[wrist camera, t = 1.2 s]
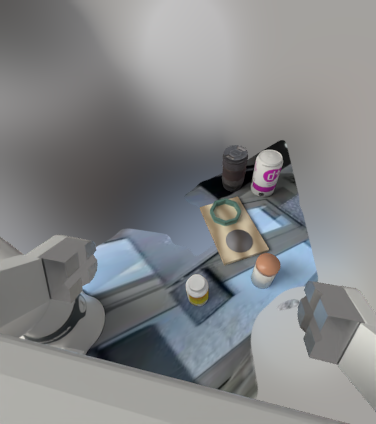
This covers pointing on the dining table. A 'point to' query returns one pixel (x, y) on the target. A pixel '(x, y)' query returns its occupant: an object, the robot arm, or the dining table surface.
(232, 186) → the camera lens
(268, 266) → the lidded canister
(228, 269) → the dining table surface
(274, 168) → the supplement can
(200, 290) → the supplement bottle
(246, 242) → the seat board
